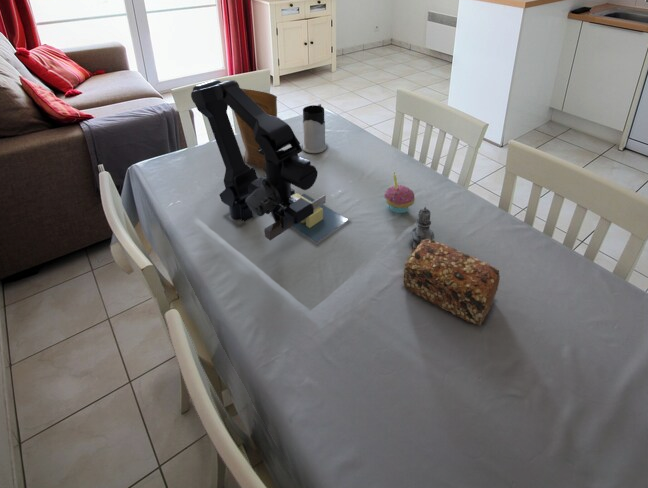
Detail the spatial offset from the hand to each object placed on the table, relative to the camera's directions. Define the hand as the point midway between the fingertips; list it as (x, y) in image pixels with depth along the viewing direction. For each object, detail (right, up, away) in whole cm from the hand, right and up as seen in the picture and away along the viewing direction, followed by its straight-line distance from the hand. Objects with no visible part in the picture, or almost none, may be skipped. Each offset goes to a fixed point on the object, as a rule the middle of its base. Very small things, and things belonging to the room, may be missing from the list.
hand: (281, 225), depth 108 cm
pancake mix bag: (-14, +9, +36) cm, 40 cm away
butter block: (+3, 0, +11) cm, 12 cm away
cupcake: (+31, 0, +15) cm, 35 cm away
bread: (+40, -12, -12) cm, 43 cm away
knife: (+4, 0, +4) cm, 6 cm away
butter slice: (+8, -1, +8) cm, 11 cm away
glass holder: (+4, +22, +47) cm, 52 cm away
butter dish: (+6, -1, +11) cm, 12 cm away
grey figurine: (+36, -6, +2) cm, 36 cm away
